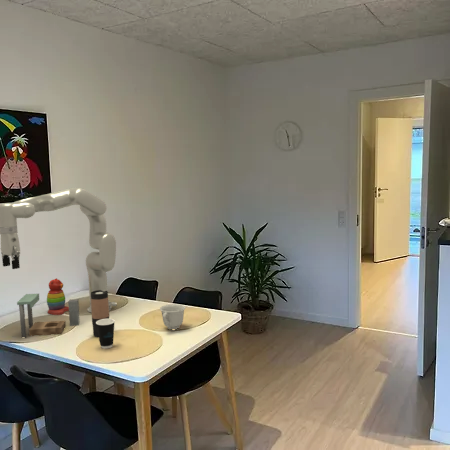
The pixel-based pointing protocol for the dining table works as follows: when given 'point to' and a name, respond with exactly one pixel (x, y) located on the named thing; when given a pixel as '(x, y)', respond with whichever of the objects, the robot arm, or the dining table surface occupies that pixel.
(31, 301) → the green topped stand
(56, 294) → the rainbow stacking rings
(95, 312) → the travel mug
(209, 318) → the dining table surface
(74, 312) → the peg
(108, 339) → the dixie cup
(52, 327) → the socket block
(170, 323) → the teacup
